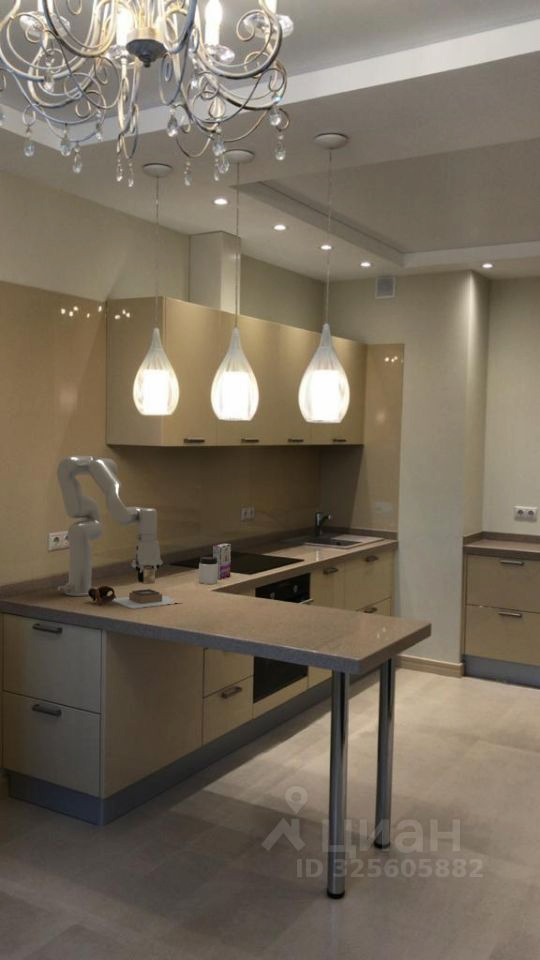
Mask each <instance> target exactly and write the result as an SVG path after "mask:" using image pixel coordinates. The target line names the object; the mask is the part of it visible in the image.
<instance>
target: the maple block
mask: <svg viewBox="0 0 540 960" xmlns="http://www.w3.org/2000/svg"><path fill="white" fill-rule="evenodd" d="M142 572H143V582H139V581H138V584H142V585H150V584H151V585H152V584H156V578H155V569H153V568H151V567H143V571H142Z"/></svg>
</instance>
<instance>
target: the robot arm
mask: <svg viewBox="0 0 540 960" xmlns="http://www.w3.org/2000/svg"><path fill="white" fill-rule="evenodd" d="M117 473H118V465H117V463H116V462H115V461H114V459H111V458H106V457H100V456H94V455H93V456H92V455H70V456H65V457H64V458H62V459H61V460H60V461H59V462H58V465H57V467H56V477H57V481H58V485H59V487H60V491H61V496H62V500H63V506H64V508H65V513H66V515H67V517H68V518H70V519H74V520H75V519H81V520H78V521H75V522H72V523H71V524H70V526H69V527H68V529H67V541H68V546H69V547H68V549H69V550H68V552H69V553H68V555H69V556H68V558H69V561H68V562H69V563H68V582H66V584H65V585H59V586H57V590H58V591H60V592H62V591H64V594H65V595H66V596H70V597H87V596H89V594H88V591H89V589H91V588H92V571H93V569H92V567H93V557H92V555H93V553H92V551H93V550H92V547H91V545H90V542H97V541H98V540H100V539H101V537H102V536H103V534H104V527H103V526H104V525H103V522H102V520H103V519H102V517H101V512H100V507H99V505H98V503H97V501H96V499H94V497H92V496H91V495H90V496H89V495H84V494H83V491H82V487H81V484H80V482H79V480H78V479H77V477H76V476H86V475H89V476H90V477H91V478H92V479H93V481H94V482H95V484H96V485H97V486H98V488H99V489H100V491H101V493H103V496H104V500H105V507H106V508H107V511H108V512H109V514H110V516H111V517H112V518H113V520H114V521H115V522H116V523H117V524H118V525H120V526H124V527H125V526H133V525H138V530H137V531H138V534H137V535H135V539H136V540H137V541H136V545H135V550H134V559H133V561H132V562H131V563H130V566H131V567H133V569H135V571H136V572H137V580H138V583H139V582H143V572H142V571H143V568H145V566H150V568H153V569H155V579H156V578H157V571H158V569H159V568H160V566H161V565H163V564H164V561H163V560H162V558H161V548H160V543H159V540H157V538H158V537H157V531H158V530H157V528H158V526H157V525H158V512H157V509H156V508H152V507H141V506H127V507H126V506H125V504H124V503H123V502H122V500H121V498H120V496H119V495H120V494H119V492H120V490H122V487H123V485H122V483H121V480H119V479H118V477H117ZM92 594H93V593H92Z"/></svg>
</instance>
